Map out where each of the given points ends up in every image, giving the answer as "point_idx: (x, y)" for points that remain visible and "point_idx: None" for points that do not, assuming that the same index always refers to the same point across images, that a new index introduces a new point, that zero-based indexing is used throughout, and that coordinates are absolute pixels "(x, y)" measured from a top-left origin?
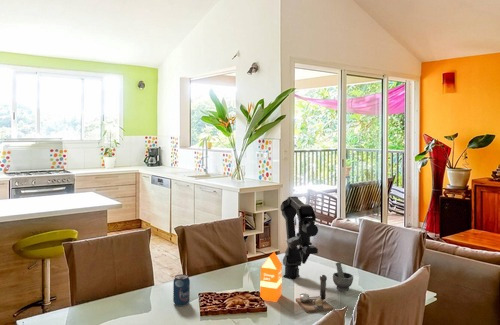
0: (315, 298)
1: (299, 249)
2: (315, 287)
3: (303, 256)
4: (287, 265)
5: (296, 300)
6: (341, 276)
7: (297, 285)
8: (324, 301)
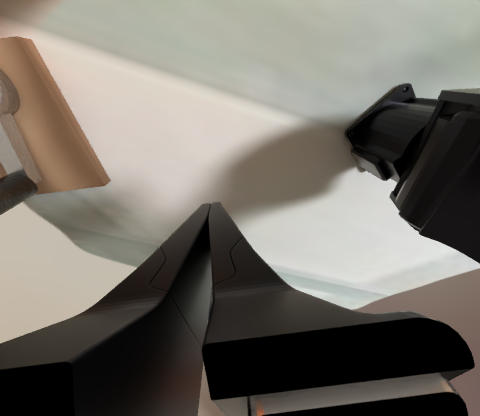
0: (2, 151)
1: (210, 387)
2: (232, 196)
3: (145, 272)
4: (440, 108)
5: (8, 39)
6: (210, 296)
7: (266, 128)
8: (44, 186)
